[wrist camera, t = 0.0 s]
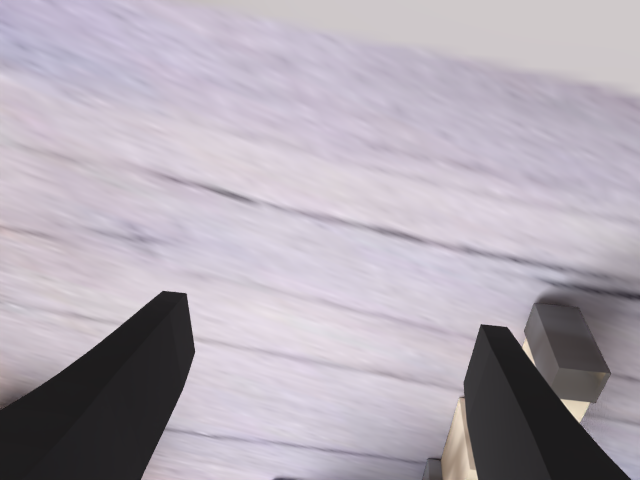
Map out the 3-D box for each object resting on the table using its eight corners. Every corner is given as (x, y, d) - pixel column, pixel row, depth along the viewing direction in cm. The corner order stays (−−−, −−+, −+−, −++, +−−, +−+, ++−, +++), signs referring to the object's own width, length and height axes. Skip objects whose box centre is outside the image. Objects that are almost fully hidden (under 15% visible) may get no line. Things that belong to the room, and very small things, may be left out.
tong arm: (512, 458, 29) (528, 527, 26) (479, 454, 29) (490, 522, 26) (578, 307, 23) (611, 373, 19) (534, 302, 23) (559, 367, 20)
